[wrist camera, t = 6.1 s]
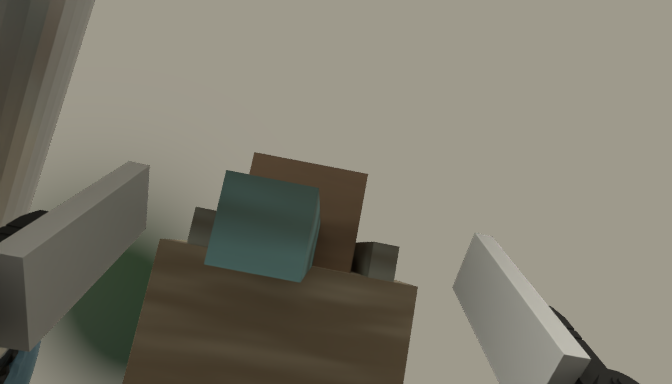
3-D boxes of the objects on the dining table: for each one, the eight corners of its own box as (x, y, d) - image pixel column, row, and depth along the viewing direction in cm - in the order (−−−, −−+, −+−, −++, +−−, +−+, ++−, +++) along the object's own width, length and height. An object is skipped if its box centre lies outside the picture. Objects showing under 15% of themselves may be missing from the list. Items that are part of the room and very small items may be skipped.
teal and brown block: (386, 299, 10) (422, 81, 11) (116, 247, 10) (175, 34, 11) (343, 268, 30) (357, 191, 31) (252, 251, 30) (269, 174, 31)
